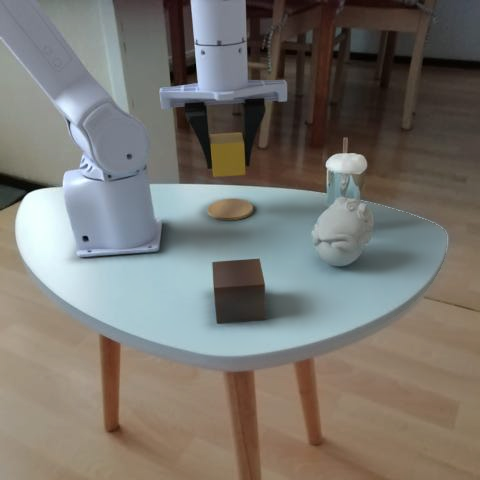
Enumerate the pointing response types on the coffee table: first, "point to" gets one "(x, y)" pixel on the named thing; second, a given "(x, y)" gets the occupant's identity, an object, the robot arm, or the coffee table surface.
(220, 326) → the coffee table surface
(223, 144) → the top cube
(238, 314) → the walnut block
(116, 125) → the robot arm
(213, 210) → the cork coaster
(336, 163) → the milkshake
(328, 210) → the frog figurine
